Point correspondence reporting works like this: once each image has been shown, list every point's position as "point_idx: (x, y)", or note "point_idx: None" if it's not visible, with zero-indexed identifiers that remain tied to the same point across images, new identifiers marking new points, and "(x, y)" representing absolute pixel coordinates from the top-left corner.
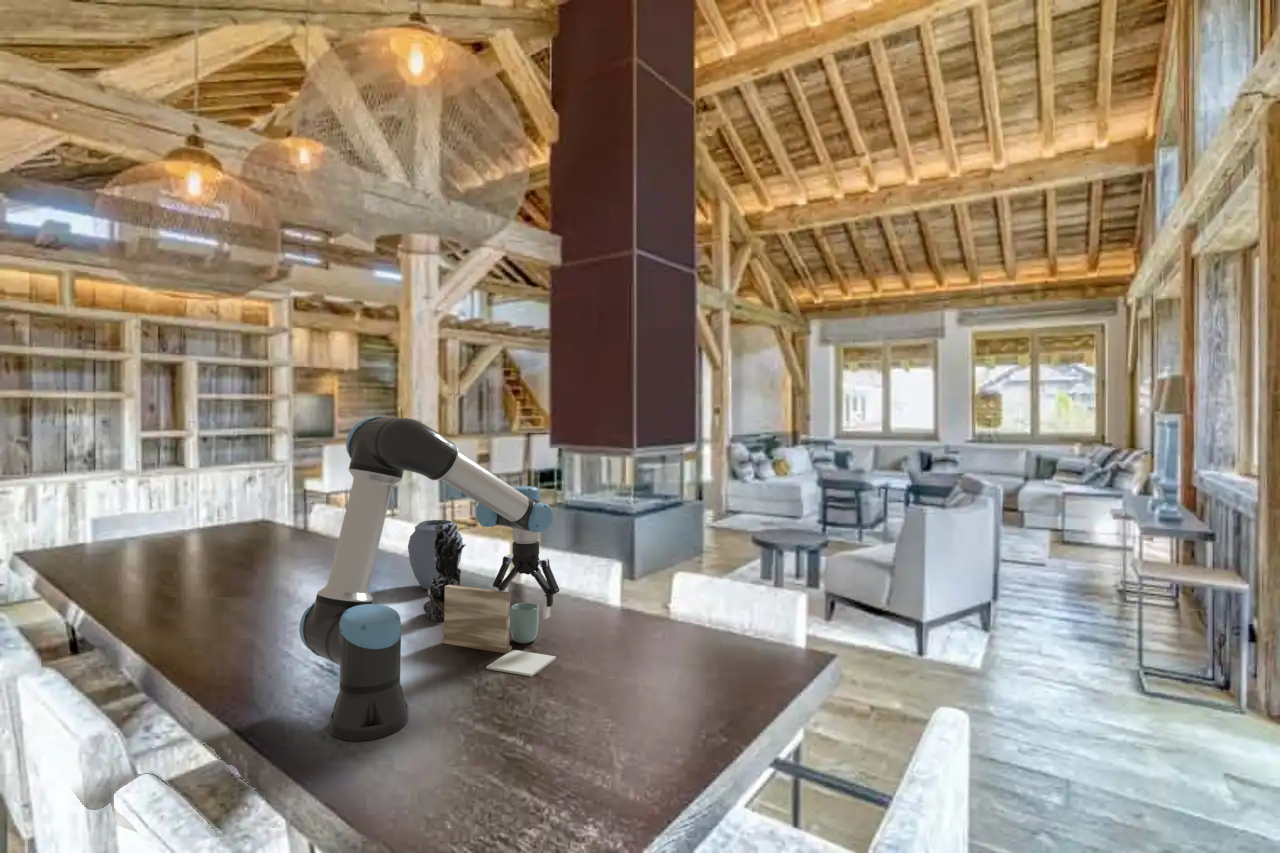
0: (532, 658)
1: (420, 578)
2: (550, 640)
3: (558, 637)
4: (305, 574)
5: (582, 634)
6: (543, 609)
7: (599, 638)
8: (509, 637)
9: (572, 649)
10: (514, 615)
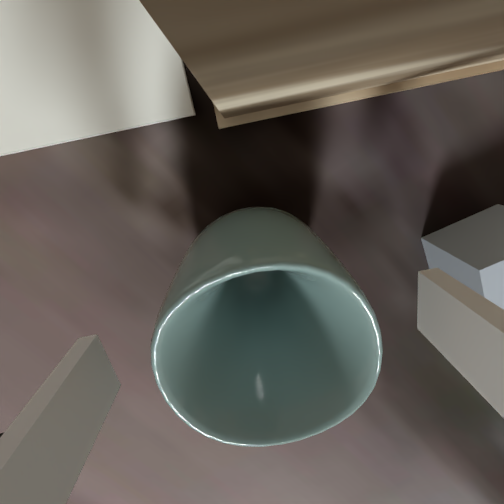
0: (7, 64)
1: None
2: None
3: None
4: None
5: (126, 417)
6: (59, 387)
7: None
8: (223, 115)
9: (18, 293)
10: (278, 239)
